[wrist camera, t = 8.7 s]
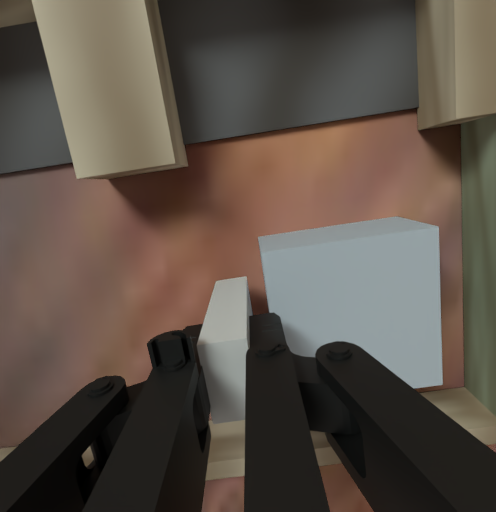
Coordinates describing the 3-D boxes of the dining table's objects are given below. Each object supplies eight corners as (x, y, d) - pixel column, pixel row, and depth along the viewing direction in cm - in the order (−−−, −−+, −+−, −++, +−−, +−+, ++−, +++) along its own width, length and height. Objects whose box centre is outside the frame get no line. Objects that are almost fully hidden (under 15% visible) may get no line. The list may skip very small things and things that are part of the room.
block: (275, 359, 19) (283, 406, 15) (257, 236, 17) (261, 252, 13) (401, 341, 19) (442, 384, 15) (394, 216, 17) (438, 226, 13)
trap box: (-63, 471, 20) (-116, 521, 17) (-241, 45, 15) (-358, 13, 12) (482, 400, 19) (525, 439, 16) (482, -82, 14) (543, -150, 11)
